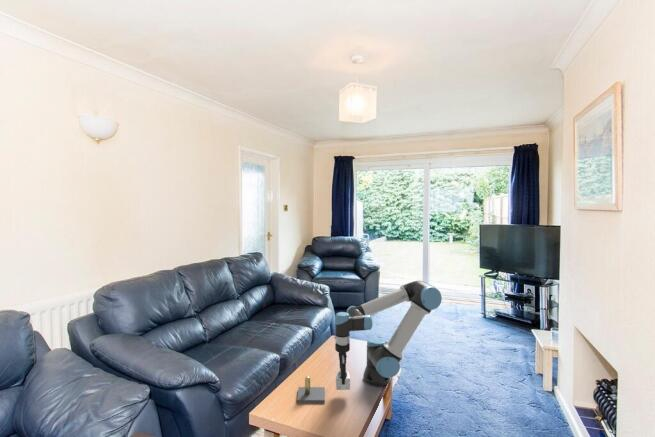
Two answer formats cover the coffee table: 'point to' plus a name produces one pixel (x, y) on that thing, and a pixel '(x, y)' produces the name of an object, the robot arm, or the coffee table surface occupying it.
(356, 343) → the coffee table surface
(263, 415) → the coffee table surface
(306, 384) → the pin
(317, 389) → the keeper plate
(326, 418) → the coffee table surface
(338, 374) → the steel collar
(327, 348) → the coffee table surface
